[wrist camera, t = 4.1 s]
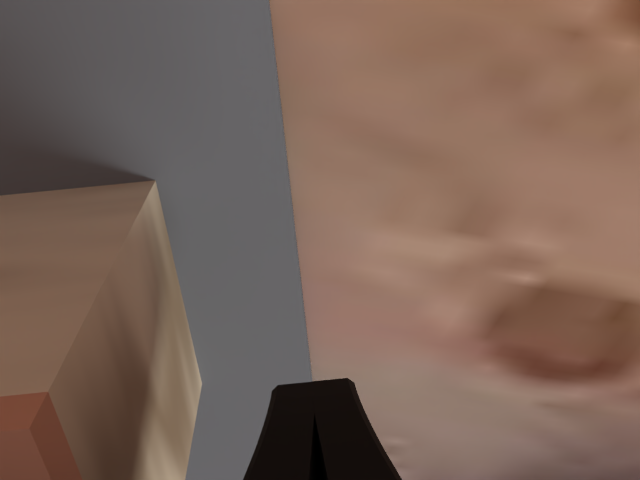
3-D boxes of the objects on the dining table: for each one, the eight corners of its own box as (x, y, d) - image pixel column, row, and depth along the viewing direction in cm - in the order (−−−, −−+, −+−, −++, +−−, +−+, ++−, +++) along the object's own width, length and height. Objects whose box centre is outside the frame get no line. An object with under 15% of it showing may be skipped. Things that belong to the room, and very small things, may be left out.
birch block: (202, 383, 16) (146, 701, 9) (55, 398, 16) (-104, 728, 9) (155, 180, 13) (28, 428, 7) (-23, 197, 13) (-330, 466, 7)
